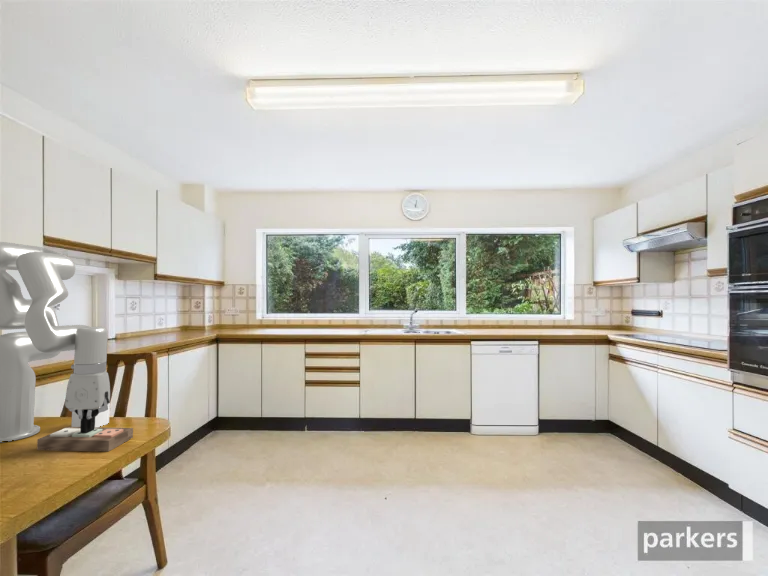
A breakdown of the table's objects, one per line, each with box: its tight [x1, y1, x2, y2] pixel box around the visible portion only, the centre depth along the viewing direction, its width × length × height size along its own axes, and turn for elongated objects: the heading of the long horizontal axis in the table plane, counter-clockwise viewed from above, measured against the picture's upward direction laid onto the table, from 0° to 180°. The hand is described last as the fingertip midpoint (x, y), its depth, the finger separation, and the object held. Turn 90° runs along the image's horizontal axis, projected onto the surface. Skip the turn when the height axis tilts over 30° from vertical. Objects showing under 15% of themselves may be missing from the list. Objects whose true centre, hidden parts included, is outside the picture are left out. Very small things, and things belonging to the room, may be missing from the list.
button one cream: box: [49, 427, 81, 437], centre depth 108 cm, size 5×5×2 cm
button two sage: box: [72, 429, 103, 437], centre depth 108 cm, size 5×5×2 cm
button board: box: [36, 426, 134, 452], centre depth 108 cm, size 20×10×3 cm, turn 90°
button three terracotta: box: [94, 429, 124, 438], centre depth 108 cm, size 5×5×2 cm
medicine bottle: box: [71, 402, 111, 427], centre depth 122 cm, size 7×7×12 cm
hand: (87, 431), depth 108 cm, fingers closed
